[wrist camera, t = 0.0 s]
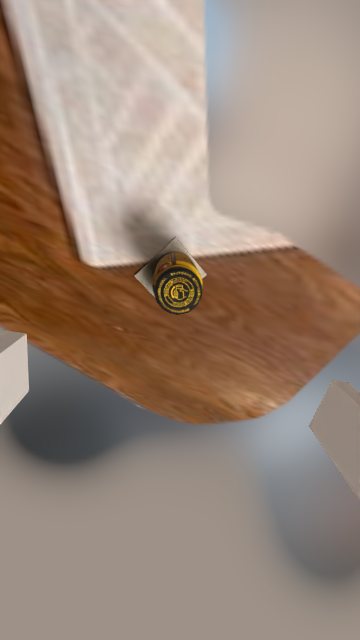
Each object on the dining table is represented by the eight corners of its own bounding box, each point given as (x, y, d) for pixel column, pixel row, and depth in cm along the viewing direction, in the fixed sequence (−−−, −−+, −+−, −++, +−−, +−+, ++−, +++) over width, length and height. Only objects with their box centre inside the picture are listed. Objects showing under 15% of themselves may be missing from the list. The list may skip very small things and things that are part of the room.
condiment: (206, 274, 37) (222, 295, 26) (166, 308, 39) (165, 342, 27) (175, 237, 35) (178, 242, 23) (134, 275, 36) (118, 297, 25)
